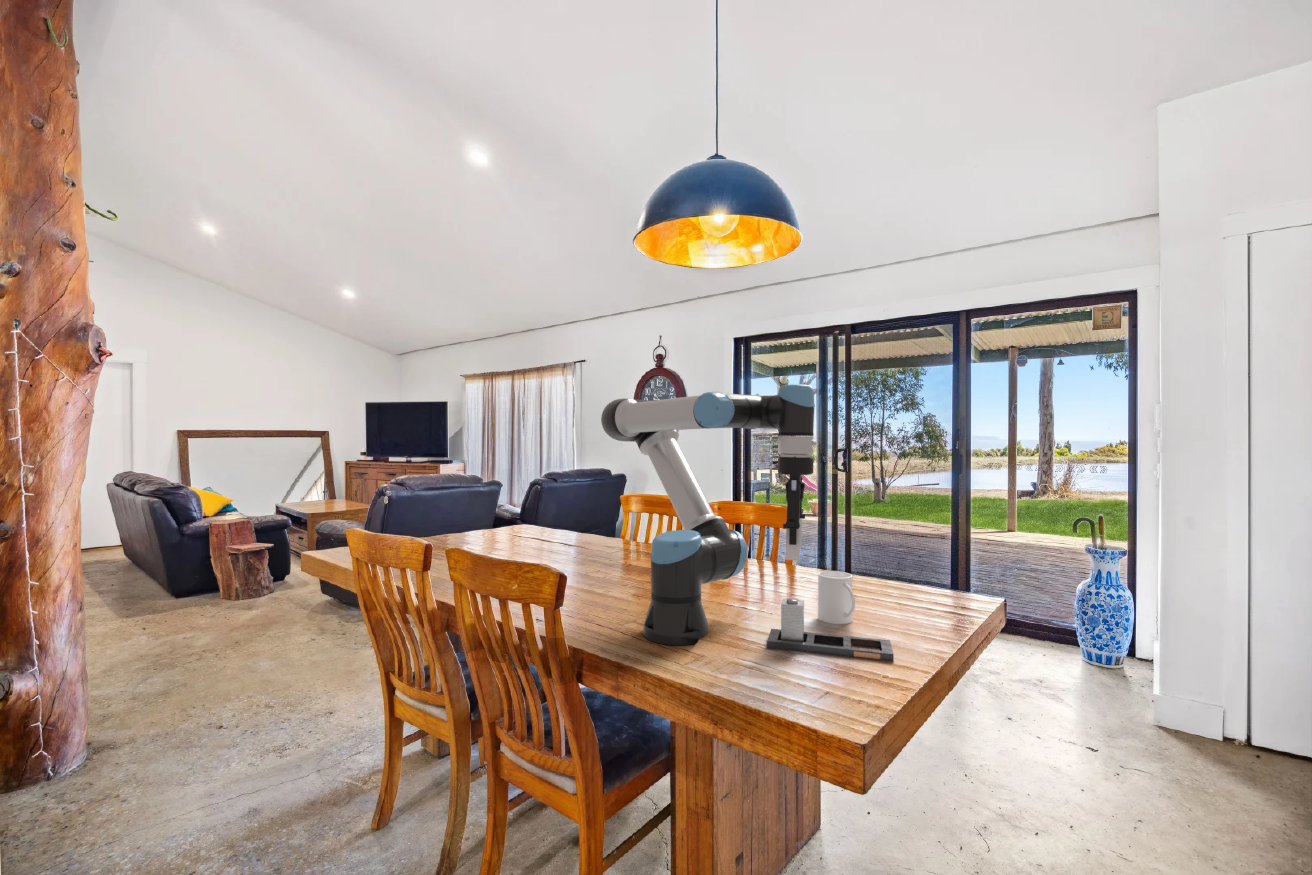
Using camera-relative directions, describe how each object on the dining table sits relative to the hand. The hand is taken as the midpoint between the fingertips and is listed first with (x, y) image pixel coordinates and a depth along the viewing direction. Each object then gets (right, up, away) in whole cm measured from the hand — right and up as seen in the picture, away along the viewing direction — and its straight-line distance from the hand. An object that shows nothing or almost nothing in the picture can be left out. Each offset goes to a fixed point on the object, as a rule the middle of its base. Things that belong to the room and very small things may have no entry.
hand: (794, 553), depth 127 cm
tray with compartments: (+7, -21, -3) cm, 22 cm away
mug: (+15, -21, +16) cm, 30 cm away
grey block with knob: (0, -20, -1) cm, 20 cm away
